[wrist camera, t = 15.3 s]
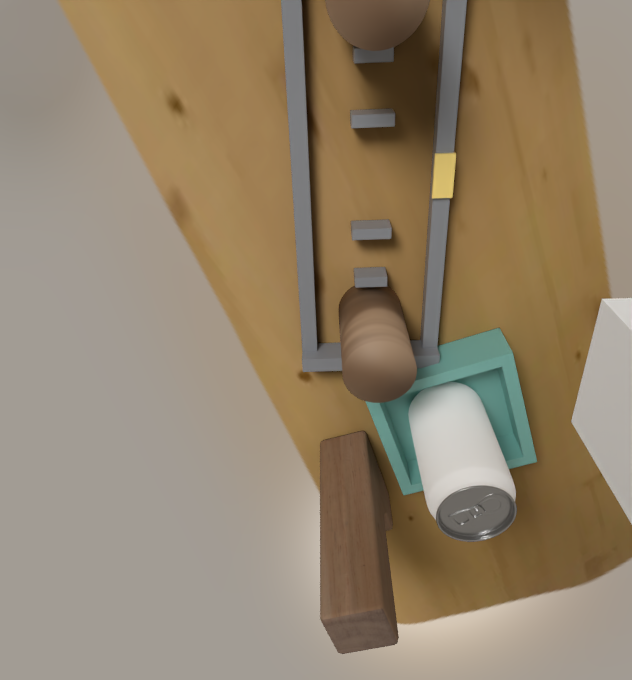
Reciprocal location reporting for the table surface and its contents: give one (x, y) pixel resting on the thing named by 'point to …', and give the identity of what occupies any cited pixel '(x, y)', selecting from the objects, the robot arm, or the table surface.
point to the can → (461, 463)
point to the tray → (480, 375)
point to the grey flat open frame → (440, 194)
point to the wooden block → (355, 547)
